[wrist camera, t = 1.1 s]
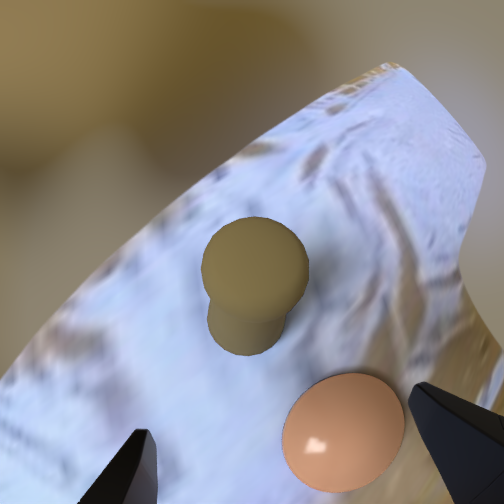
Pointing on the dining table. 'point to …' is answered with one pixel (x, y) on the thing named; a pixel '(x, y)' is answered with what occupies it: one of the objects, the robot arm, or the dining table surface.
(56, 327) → the dining table surface
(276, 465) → the dining table surface
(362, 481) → the peach round disc
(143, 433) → the robot arm
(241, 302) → the cork
